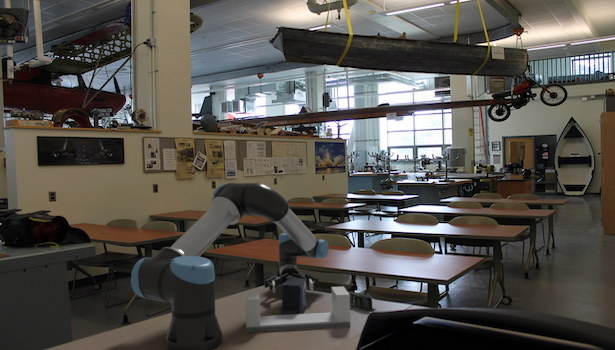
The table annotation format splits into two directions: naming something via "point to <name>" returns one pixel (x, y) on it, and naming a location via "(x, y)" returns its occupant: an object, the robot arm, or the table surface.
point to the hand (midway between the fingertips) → (293, 288)
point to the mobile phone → (360, 301)
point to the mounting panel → (297, 322)
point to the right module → (340, 304)
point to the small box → (293, 296)
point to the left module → (253, 308)
